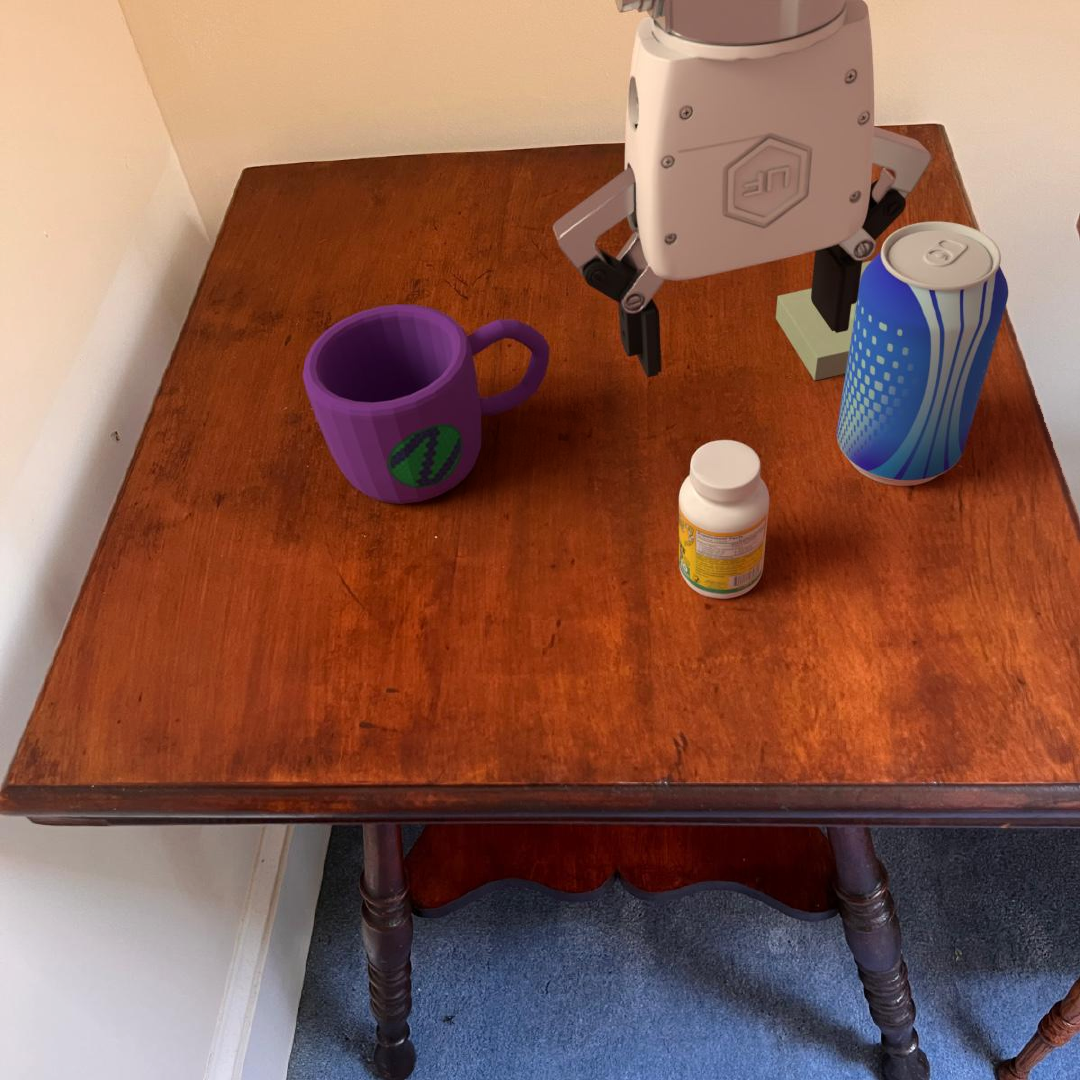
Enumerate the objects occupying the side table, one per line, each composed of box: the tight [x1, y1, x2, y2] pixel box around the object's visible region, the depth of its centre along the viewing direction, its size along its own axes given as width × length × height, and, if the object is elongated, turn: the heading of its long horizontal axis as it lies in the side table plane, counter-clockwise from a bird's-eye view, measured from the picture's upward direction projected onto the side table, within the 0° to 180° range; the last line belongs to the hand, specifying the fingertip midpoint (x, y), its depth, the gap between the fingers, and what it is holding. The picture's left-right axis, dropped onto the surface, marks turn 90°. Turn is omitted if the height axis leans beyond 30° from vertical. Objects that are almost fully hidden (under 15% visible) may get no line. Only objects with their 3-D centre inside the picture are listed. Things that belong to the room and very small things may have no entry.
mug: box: [302, 303, 550, 505], centre depth 73 cm, size 17×11×10 cm, turn 116°
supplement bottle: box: [678, 439, 770, 600], centre depth 63 cm, size 5×5×10 cm
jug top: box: [775, 260, 872, 381], centre depth 79 cm, size 11×8×4 cm
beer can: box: [836, 221, 1009, 487], centre depth 66 cm, size 8×8×16 cm
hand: (737, 338), depth 52 cm, fingers open, 9 cm apart
